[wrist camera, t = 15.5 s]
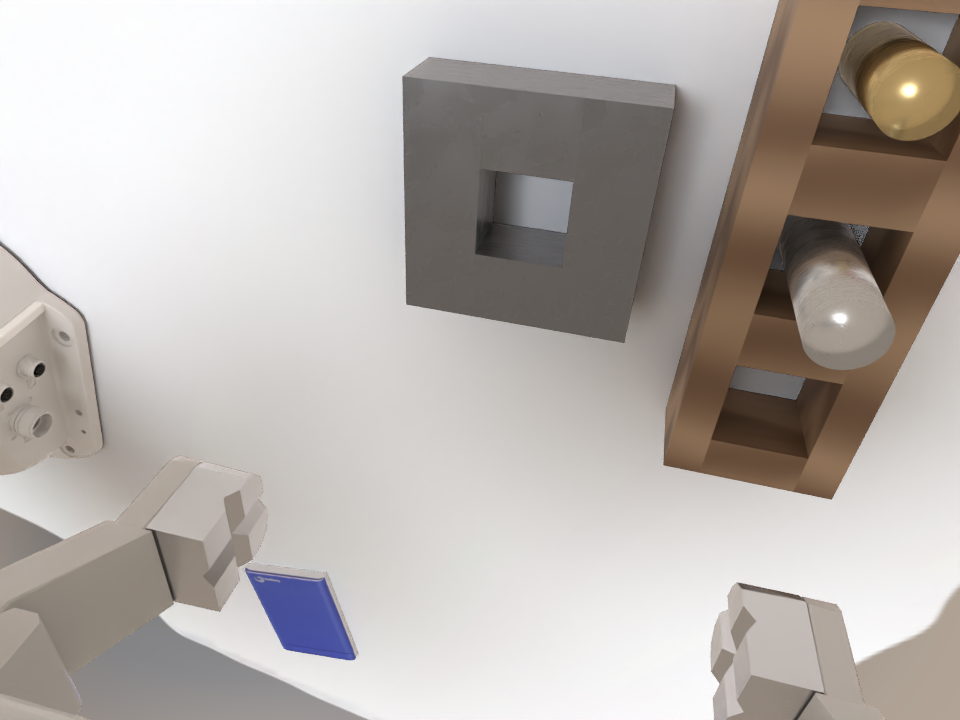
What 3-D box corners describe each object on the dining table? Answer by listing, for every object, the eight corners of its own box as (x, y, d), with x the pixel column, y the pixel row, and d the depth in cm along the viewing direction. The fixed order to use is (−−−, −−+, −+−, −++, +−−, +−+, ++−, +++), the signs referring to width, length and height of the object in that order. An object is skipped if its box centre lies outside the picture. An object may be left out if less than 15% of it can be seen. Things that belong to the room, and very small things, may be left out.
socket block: (629, 304, 39) (624, 342, 36) (428, 270, 41) (406, 304, 38) (675, 85, 32) (674, 108, 29) (429, 57, 34) (402, 76, 31)
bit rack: (817, 439, 41) (831, 499, 37) (665, 410, 42) (663, 465, 38) (1055, -72, 25) (1123, -62, 22) (804, -89, 27) (823, -83, 23)
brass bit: (896, 95, 30) (944, 145, 24) (829, 87, 30) (861, 135, 25) (924, 25, 28) (982, 62, 23) (852, 18, 29) (892, 53, 23)
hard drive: (242, 571, 63) (281, 650, 70) (321, 581, 61) (354, 661, 68) (251, 558, 64) (289, 636, 71) (329, 567, 62) (360, 647, 69)
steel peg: (832, 261, 35) (875, 376, 27) (767, 252, 35) (790, 361, 27) (856, 202, 33) (909, 307, 25) (787, 193, 33) (817, 292, 25)
